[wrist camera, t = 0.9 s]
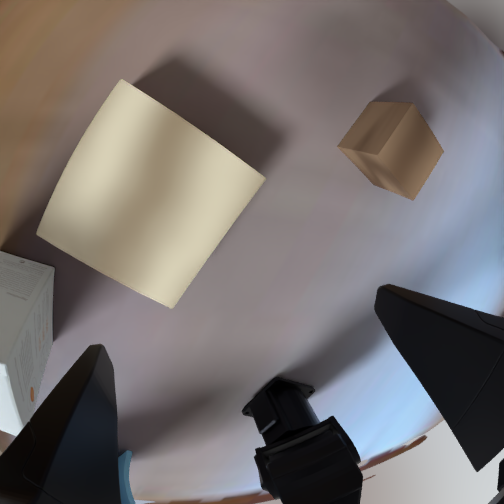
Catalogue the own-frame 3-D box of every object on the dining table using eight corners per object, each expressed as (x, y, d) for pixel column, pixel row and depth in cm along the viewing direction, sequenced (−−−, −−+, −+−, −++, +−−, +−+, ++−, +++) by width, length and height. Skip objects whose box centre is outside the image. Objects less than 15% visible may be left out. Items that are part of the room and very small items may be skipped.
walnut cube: (401, 142, 23) (443, 151, 18) (373, 184, 23) (413, 200, 19) (369, 101, 20) (412, 102, 16) (336, 146, 21) (377, 155, 17)
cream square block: (247, 168, 20) (266, 178, 17) (169, 279, 22) (172, 308, 19) (129, 88, 16) (121, 78, 12) (55, 214, 18) (35, 234, 14)
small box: (-2, 247, 16) (-72, 327, 7) (57, 265, 19) (5, 363, 9) (2, 327, 19) (-38, 415, 10) (54, 344, 21) (28, 442, 12)
